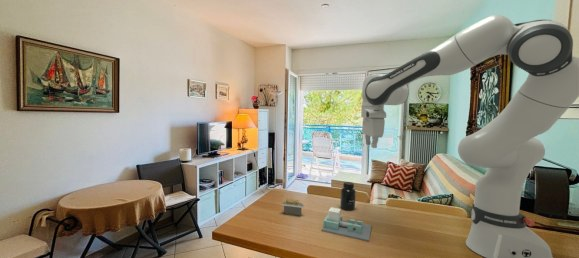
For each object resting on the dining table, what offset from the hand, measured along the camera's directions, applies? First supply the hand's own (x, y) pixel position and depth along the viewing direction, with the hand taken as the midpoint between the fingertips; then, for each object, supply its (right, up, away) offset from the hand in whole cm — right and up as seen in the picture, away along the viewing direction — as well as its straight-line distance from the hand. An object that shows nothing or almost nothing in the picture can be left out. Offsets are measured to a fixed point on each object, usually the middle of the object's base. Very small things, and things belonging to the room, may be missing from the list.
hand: (370, 146), depth 99 cm
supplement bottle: (-7, -31, +12) cm, 34 cm away
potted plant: (-33, -31, +5) cm, 45 cm away
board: (-12, -32, -8) cm, 35 cm away
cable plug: (-13, -31, -8) cm, 34 cm away
